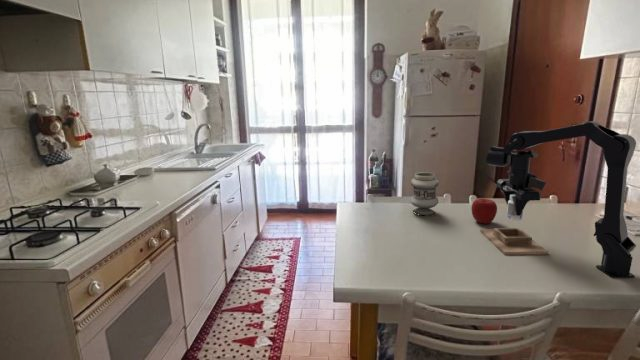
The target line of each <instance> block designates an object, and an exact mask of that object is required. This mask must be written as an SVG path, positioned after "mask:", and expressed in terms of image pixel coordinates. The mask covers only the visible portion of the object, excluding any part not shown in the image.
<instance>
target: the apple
mask: <svg viewBox="0 0 640 360" xmlns="http://www.w3.org/2000/svg"><path fill="white" fill-rule="evenodd" d="M497 212H498V206H497V204H496V202H495V201H494V200H492V199H488V198H477V199H475V200H473V202H472V205H471V215H472V217H473V219H474V221H476V222H477V223H480V224H484V225H487V224H490V223H492V221H493V220H494V219H495V218H496V215H497V214H498V213H497Z"/></svg>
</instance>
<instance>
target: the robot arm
mask: <svg viewBox="0 0 640 360" xmlns="http://www.w3.org/2000/svg"><path fill="white" fill-rule="evenodd" d="M579 137H586V138H588V139H589V140H590V141H591V142H593V143H594V144H595V145H597V146H598V147H600V148H602V151H603V156H604V157H603V158H604V161H605V164H606V166H607V171H606V172H607V173H606V174H607V175H606V186H605V187H606V188H605V200H604V211H603V212H604V214H603V217H600V218H598V219H597V220H596V221H594V233H593V237H595V240H596V243H598V244H599V245H600V247H601V250H602V258H601V264H596V265H595V268H596V269H598V270H600V271H601V272H602V273H605V274H606V275H607V276H609V277H610V278H635V274H633V273H631V268H632V263H633V256H632V253H631V252H633V251H634V250H635V249H636V247H637V244H635V242H634V241H633V240H632V239H631V238H630V237H629V235H628V234H629V233H628V226H627V223H626V219H625V215H624V211H625V210H624V209H625V200H626V190H627V189H626V188H627V177H628V167H629V165H630V162H631V160H632V159H633V156H634V152H635V149H636V146H637V141H636V139H635V137H633V136H632V135H630V134H625V133H622V134H621V133H618V132H617V131H615V130H613V129H610V128H608V127H605V126H604V125H601V124H599V123H598V122H597V121H593V120H591V121H586V122H583V123H579V124H574V125H570V126H564V127H559V128H558V127H557V128H553V129H547V130H524V131H519V132H515V133H513V134H512V135H511V136H510V139H509V141H508V143H507V144H506V145H505V146H504V147H500V146H496V145H495V146H490V150H488V152H487V155H486V157H485V159H486V160H485V161H486V164H487V165H488V166H495V167H500V168H501V167H502V168H506V167H507V166H508V165H509V170H507V171H506V174H508V178H499V179H498V180H497V181H496V187H497V188H498V189H500V192H501V194H502V196H503V197H504V201H505V202H506V205H507V206H508V201H509V200H510V195H511V194H516V196H512V198H513V203H514V207H515V211H516V215H521V213H522V211H523V212H524V209H525V207H526V205H527V203H529V202H530V201H541V200H542V199H541V197H542V194H541V193H540V192H543V191H544V189H545V187H546V184H547V182H546V181H544V180H542V179H539V178H537V175H536V174H533V173H532V172H530V163H531V159H533V158H537V157H539V154H538V153H537V152H535V150H534V148H533V149H529V148H532V147H535V146H538V145H541V144H544V143H548V142H549V143H550V142H555V141H561V140H562V141H563V140H568V139H574V138H579ZM526 149H529V150H528V151H525V150H526ZM516 151H517V152H516ZM536 189H537V190H536ZM538 190H539V191H538Z"/></svg>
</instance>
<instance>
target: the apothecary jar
mask: <svg viewBox="0 0 640 360" xmlns="http://www.w3.org/2000/svg"><path fill="white" fill-rule="evenodd" d="M439 183H440V182H439V180H438V179H437V178H436V175H435V173H434V172H430V171H429V172H428V171H427V172H426V171H423V172H422V171H421V172H420V171H419V172H416V173H414V177H413V178H412V179H411V180H410V184H411V186H412V187H413V190H412V191H413V194H412V196H411V197H410V203H411V205H413V206H414V207H416V208H415V209H412V211H413V212H415V213H416V214H419V215H427V216H426V217H429V216H428V215H432V216H434V215H435V214H436V211H435V210H433V209H432V208H434V207H436V206H437V205H438V204H439V199H438V197H437V193H436V190H437V187H438V186H439ZM413 212H412V213H413ZM415 213H414V214H415ZM416 214H415V215H416ZM419 215H418V216H419Z"/></svg>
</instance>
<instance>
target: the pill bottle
mask: <svg viewBox="0 0 640 360" xmlns="http://www.w3.org/2000/svg"><path fill="white" fill-rule="evenodd" d="M512 196H516V194H511V195H510V200H509V201H508V205H507V210H506V211H507V212H506V218H507V219H508V220H511V221H522V219H523V212H524V210H523V211H522V213H521V215H516V211H515V207H514V203H513V198H512Z"/></svg>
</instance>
